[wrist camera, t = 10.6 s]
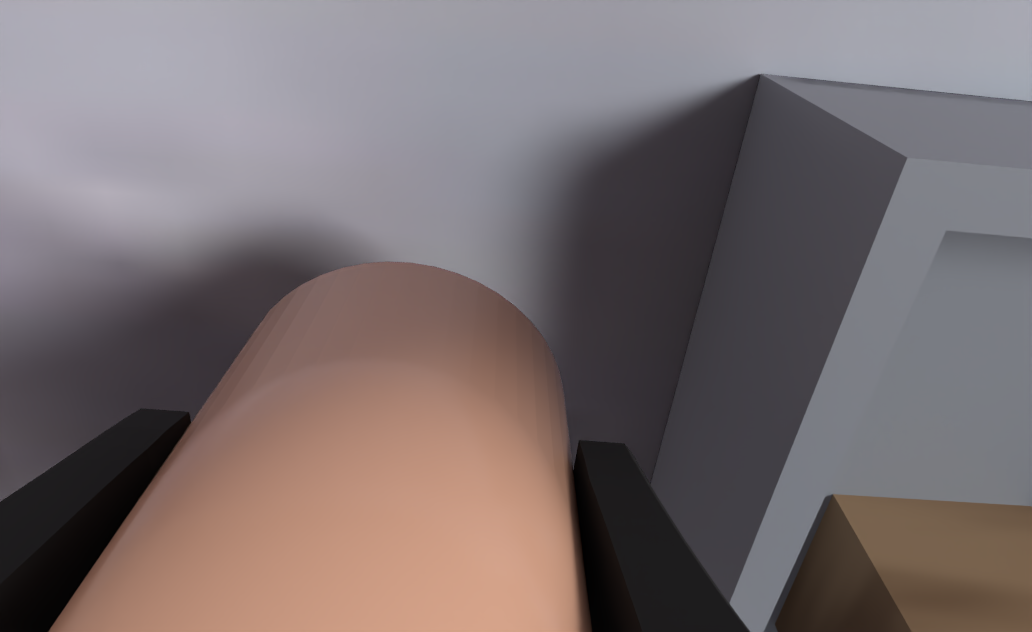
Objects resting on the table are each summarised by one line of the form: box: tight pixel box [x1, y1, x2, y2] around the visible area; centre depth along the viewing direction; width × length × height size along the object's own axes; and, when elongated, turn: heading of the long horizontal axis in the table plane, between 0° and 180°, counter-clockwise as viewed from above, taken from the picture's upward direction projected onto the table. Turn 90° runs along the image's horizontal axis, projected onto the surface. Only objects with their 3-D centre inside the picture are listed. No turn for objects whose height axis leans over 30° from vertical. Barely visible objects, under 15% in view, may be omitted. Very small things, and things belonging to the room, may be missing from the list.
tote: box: [650, 74, 1032, 632], centre depth 14 cm, size 18×14×5 cm
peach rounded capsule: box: [48, 262, 592, 632], centre depth 7 cm, size 5×5×7 cm
